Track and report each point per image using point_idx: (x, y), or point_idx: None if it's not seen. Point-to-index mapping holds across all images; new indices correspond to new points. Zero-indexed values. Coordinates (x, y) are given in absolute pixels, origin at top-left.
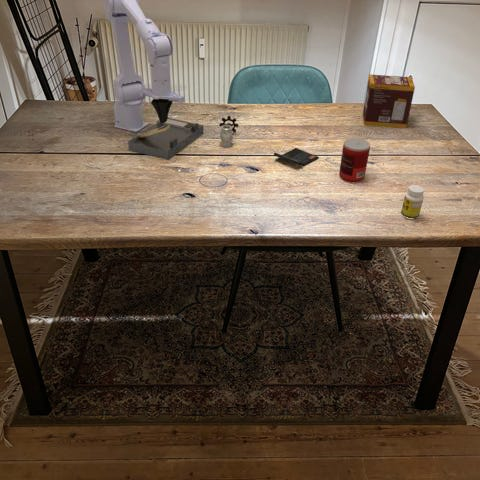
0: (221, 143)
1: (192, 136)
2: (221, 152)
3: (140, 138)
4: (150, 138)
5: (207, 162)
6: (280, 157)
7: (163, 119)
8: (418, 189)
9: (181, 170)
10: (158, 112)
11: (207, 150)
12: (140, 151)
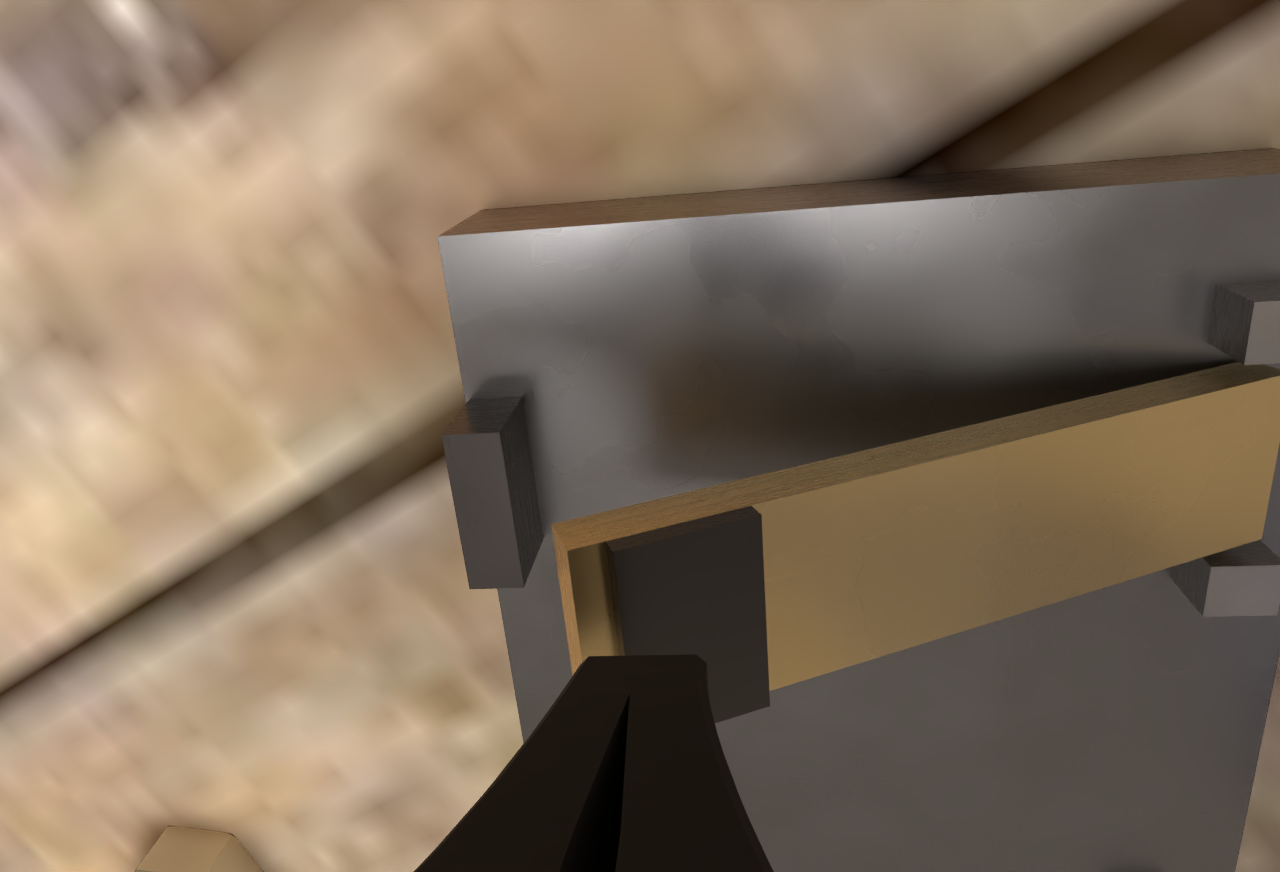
0: (209, 862)
1: None
2: (120, 718)
3: None
4: None
5: (40, 433)
6: None
7: (547, 722)
8: None
9: (105, 29)
10: (661, 867)
11: (275, 691)
12: (1024, 172)
